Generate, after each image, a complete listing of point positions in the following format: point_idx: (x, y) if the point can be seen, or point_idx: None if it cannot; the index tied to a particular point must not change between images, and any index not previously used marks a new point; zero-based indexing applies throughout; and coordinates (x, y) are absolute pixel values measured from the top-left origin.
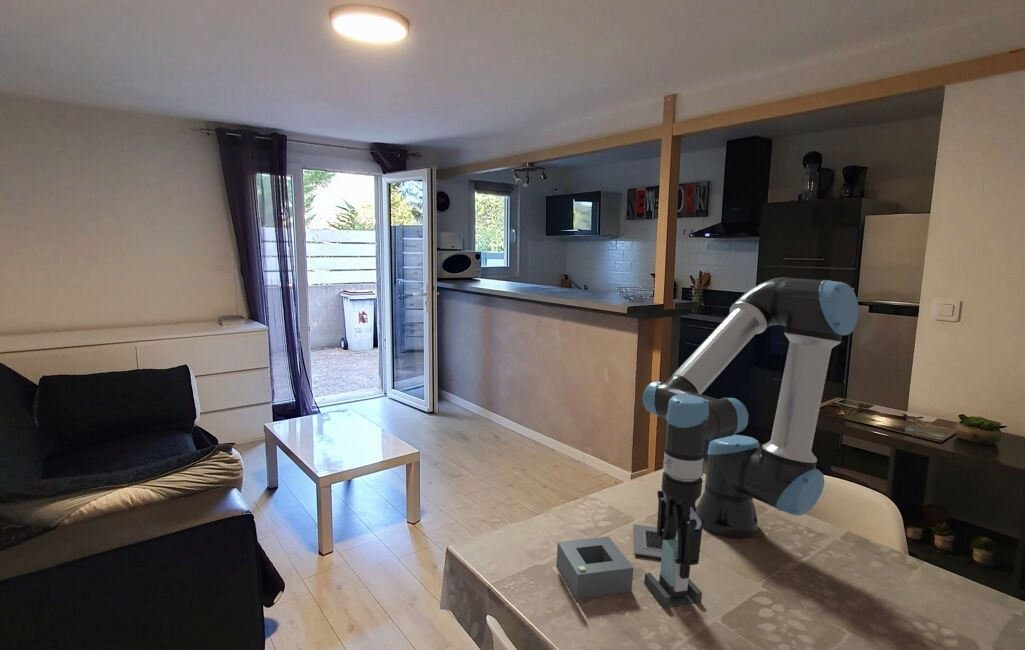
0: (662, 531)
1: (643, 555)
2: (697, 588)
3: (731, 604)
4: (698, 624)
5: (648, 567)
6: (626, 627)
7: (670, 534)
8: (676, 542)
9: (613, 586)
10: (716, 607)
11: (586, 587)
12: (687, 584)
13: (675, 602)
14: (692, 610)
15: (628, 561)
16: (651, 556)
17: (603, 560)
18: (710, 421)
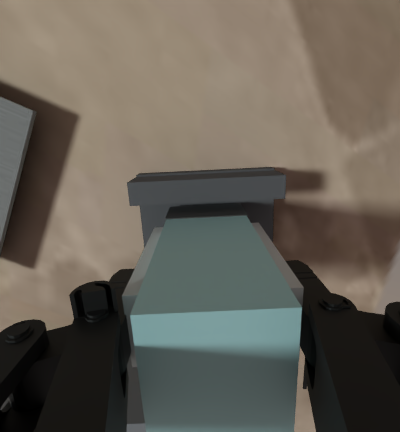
0: (24, 400)
1: (1, 249)
2: (260, 180)
3: (287, 47)
4: (340, 220)
5: (54, 239)
6: (297, 392)
7: (120, 424)
8: (189, 369)
9: None
10: (288, 116)
11: None
12: (264, 231)
13: None
14: (281, 205)
15: (136, 423)
16: (7, 223)
17: None
18: None
